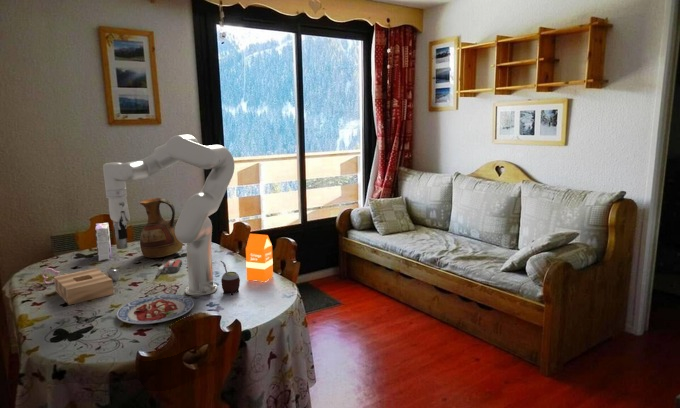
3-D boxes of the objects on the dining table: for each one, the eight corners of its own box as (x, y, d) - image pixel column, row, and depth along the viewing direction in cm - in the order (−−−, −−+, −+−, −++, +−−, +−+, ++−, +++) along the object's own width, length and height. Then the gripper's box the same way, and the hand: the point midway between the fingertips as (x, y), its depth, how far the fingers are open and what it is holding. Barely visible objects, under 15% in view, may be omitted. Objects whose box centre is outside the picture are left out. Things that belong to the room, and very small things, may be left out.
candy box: (99, 254, 239) (96, 223, 236) (111, 252, 241) (108, 222, 238) (97, 261, 227) (94, 228, 224) (111, 259, 229) (108, 227, 226)
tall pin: (129, 247, 188) (126, 218, 186) (118, 249, 186) (115, 220, 183) (125, 245, 191) (122, 217, 189) (115, 247, 188) (112, 219, 186)
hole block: (113, 293, 184) (112, 279, 183) (68, 304, 173) (67, 289, 172) (98, 281, 198) (96, 268, 197) (55, 291, 187) (53, 276, 186)
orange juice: (265, 283, 195) (263, 237, 192) (246, 280, 198) (244, 235, 195) (273, 277, 203) (272, 232, 199) (255, 275, 206) (253, 231, 202)
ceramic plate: (106, 313, 166) (105, 305, 165) (174, 294, 184) (174, 287, 183) (134, 336, 148) (133, 328, 147) (207, 313, 166) (206, 305, 165)
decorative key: (94, 284, 203) (41, 284, 194) (94, 283, 204) (41, 283, 195) (95, 269, 203) (42, 268, 194) (95, 268, 204) (42, 267, 195)
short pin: (120, 281, 199) (118, 270, 198) (110, 283, 196) (109, 272, 195) (116, 278, 201) (115, 267, 201) (107, 281, 199) (105, 270, 198)
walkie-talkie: (164, 265, 221) (154, 279, 201) (163, 256, 220) (153, 269, 201) (183, 264, 222) (175, 278, 203) (182, 255, 221) (174, 268, 202)
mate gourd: (238, 288, 189) (236, 253, 186) (241, 295, 182) (240, 258, 179) (220, 291, 186) (218, 255, 184) (222, 298, 179) (220, 261, 176)
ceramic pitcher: (143, 252, 242) (138, 196, 237) (183, 248, 248) (179, 193, 243) (139, 262, 224) (133, 202, 219) (182, 259, 230) (178, 200, 224)
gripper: (133, 194, 181) (138, 239, 184) (119, 190, 193) (123, 232, 196) (113, 196, 176) (118, 243, 179) (99, 192, 188) (104, 236, 191)
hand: (121, 237), depth 188 cm, fingers closed on tall pin, 4 cm apart
